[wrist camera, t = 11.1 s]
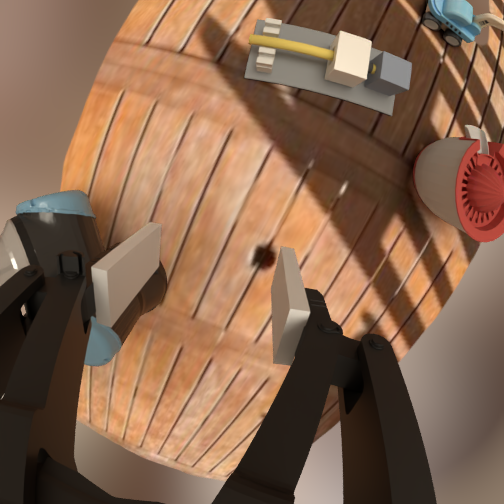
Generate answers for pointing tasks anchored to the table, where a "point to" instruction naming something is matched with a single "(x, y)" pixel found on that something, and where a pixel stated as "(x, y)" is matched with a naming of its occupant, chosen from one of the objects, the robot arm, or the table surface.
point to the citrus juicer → (464, 183)
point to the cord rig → (321, 65)
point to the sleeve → (348, 60)
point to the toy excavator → (457, 20)
